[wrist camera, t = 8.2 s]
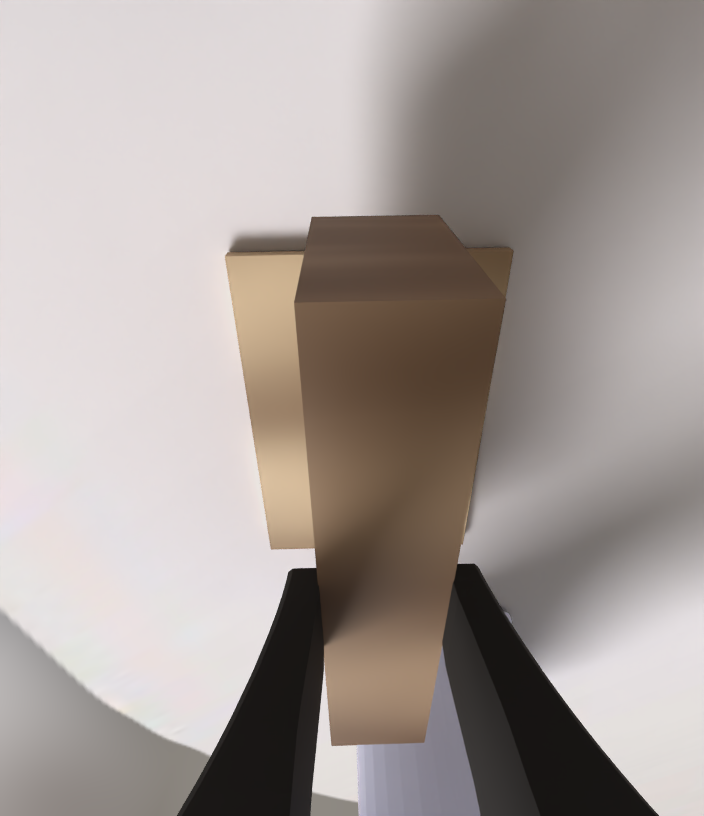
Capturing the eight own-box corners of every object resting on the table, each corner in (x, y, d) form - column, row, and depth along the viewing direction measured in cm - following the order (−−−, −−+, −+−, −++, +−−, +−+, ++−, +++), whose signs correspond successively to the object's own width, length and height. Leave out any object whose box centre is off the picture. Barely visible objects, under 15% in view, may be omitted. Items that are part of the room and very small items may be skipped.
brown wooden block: (404, 594, 18) (424, 742, 14) (333, 596, 18) (331, 745, 14) (438, 215, 10) (505, 298, 6) (311, 217, 10) (294, 302, 6)
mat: (460, 536, 20) (462, 544, 19) (272, 541, 20) (270, 549, 19) (509, 247, 13) (513, 251, 13) (227, 252, 13) (225, 256, 13)
